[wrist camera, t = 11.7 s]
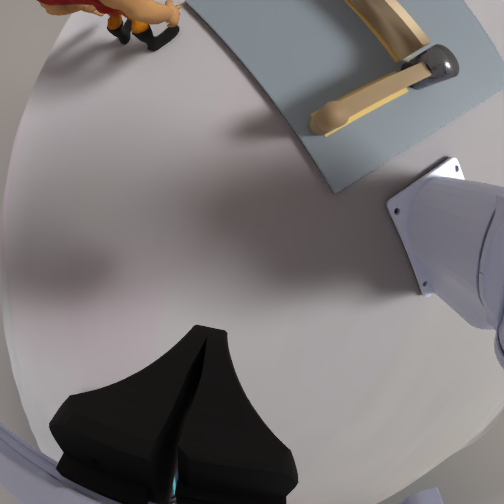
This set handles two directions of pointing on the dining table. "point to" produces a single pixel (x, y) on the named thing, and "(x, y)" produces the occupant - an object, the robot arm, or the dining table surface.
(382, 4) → the tan piece
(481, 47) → the board
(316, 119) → the fixed fence section
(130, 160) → the dining table surface
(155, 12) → the action figure
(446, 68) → the hinge post
